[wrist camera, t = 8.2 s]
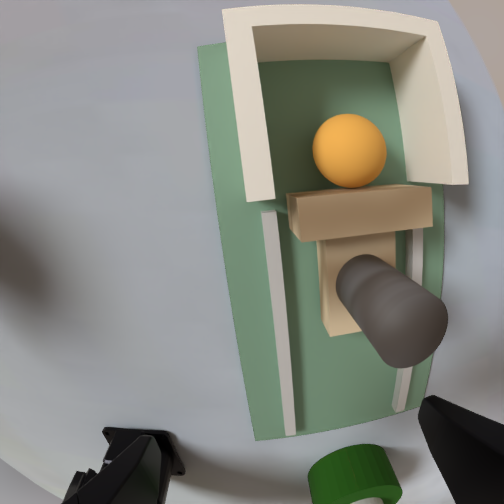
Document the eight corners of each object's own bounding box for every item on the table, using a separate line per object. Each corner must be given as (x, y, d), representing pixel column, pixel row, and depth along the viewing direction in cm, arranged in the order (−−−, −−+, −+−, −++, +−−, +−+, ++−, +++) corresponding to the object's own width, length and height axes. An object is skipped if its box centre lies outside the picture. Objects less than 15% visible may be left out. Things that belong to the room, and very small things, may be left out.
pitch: (419, 403, 22) (445, 441, 17) (255, 437, 23) (257, 486, 17) (417, 47, 16) (458, 21, 10) (198, 49, 16) (182, 8, 11)
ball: (386, 100, 13) (363, 131, 17) (312, 100, 13) (301, 134, 17) (406, 173, 13) (377, 192, 17) (328, 178, 13) (313, 198, 17)
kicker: (398, 304, 19) (467, 371, 11) (297, 322, 19) (327, 411, 11) (396, 184, 17) (488, 194, 9) (285, 193, 17) (320, 207, 9)
